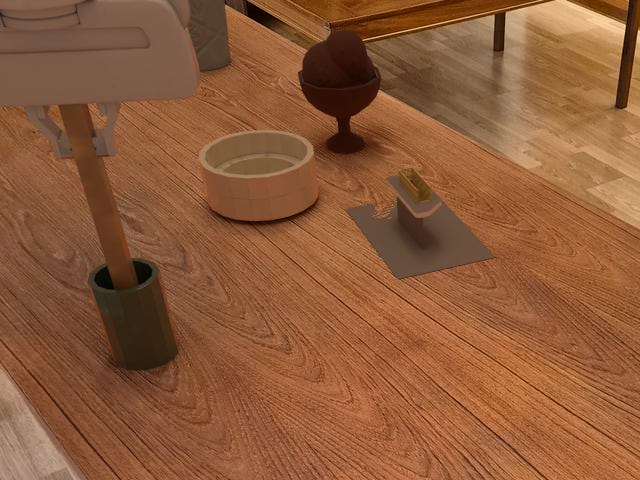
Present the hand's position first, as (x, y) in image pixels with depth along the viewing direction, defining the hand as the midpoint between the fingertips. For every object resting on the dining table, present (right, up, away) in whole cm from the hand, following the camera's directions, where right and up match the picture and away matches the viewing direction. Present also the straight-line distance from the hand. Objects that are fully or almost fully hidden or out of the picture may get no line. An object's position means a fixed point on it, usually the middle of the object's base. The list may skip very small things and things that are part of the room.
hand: (87, 155), depth 73 cm
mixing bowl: (+5, +8, +38) cm, 39 cm away
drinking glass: (-13, +42, +73) cm, 85 cm away
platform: (+25, +3, +33) cm, 41 cm away
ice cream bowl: (+14, +20, +50) cm, 56 cm away
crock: (0, -15, +14) cm, 20 cm away
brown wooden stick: (0, -14, +13) cm, 20 cm away
